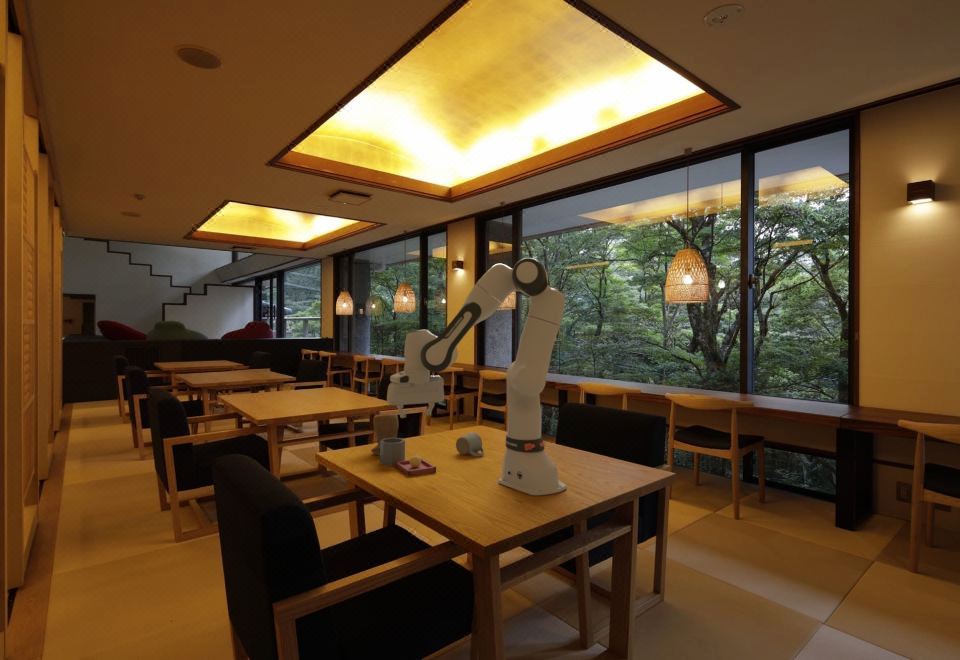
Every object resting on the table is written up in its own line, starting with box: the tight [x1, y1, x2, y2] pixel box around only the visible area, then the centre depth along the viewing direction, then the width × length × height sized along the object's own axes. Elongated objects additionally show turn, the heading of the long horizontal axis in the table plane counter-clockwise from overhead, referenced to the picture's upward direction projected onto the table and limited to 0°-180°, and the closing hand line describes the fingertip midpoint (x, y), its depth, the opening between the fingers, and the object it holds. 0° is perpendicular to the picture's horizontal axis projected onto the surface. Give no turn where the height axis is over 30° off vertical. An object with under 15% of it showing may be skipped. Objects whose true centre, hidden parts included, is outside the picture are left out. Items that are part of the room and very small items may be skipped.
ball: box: [409, 455, 422, 468], centre depth 167 cm, size 4×4×4 cm
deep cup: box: [379, 437, 406, 467], centre depth 175 cm, size 8×8×8 cm
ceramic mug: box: [455, 431, 485, 458], centre depth 188 cm, size 11×8×8 cm
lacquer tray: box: [394, 457, 437, 478], centre depth 167 cm, size 12×10×2 cm
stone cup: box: [370, 412, 400, 457], centre depth 189 cm, size 15×12×15 cm
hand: (415, 416), depth 167 cm, fingers open, 8 cm apart
